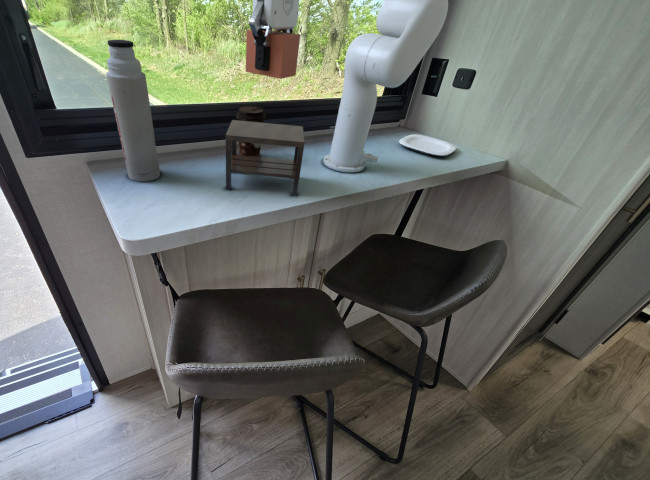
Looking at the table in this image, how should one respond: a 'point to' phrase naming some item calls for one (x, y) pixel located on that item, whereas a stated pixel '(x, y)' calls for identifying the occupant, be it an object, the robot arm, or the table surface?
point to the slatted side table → (264, 165)
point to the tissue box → (275, 54)
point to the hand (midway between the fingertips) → (271, 67)
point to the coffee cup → (252, 116)
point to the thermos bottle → (132, 111)
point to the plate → (427, 145)
